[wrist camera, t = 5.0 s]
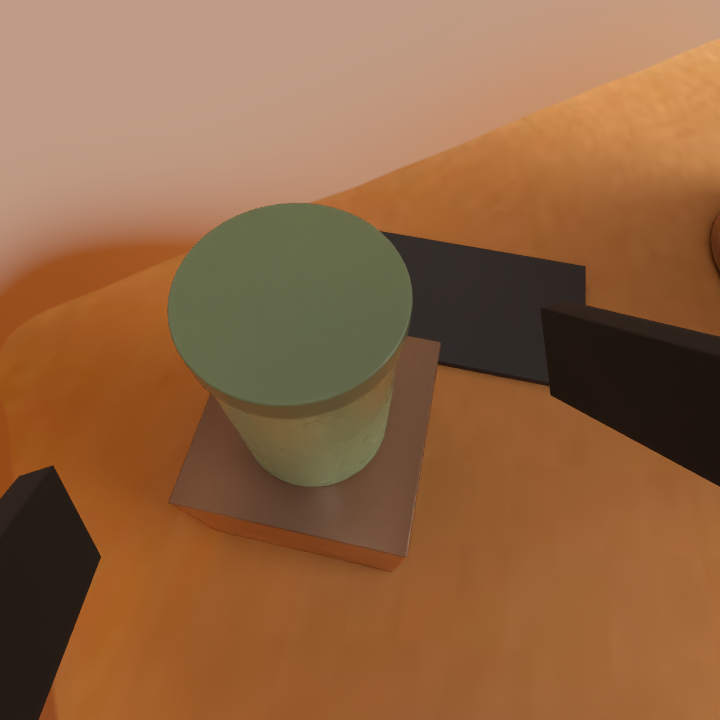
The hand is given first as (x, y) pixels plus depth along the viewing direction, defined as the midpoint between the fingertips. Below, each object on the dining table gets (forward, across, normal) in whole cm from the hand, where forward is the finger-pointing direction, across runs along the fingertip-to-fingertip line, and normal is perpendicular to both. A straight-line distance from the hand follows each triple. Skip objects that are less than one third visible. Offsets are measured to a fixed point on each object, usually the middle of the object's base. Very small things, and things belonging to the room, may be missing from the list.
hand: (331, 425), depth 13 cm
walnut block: (+14, 0, -9) cm, 17 cm away
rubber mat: (+19, +13, -4) cm, 24 cm away
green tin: (+8, 0, -3) cm, 9 cm away
